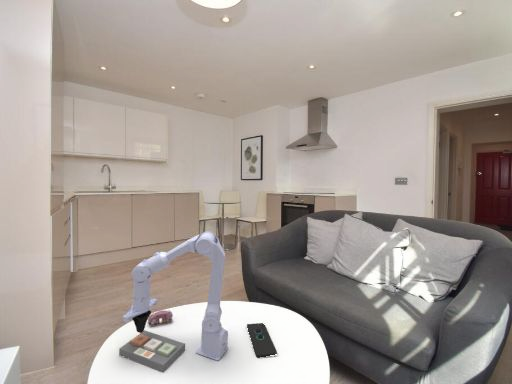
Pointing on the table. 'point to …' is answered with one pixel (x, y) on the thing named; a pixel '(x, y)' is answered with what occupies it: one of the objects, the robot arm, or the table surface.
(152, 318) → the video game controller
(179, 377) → the table surface
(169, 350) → the sage key
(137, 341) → the terracotta key
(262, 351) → the smart home device
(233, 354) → the table surface
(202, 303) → the table surface
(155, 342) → the white key
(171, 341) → the keypad
